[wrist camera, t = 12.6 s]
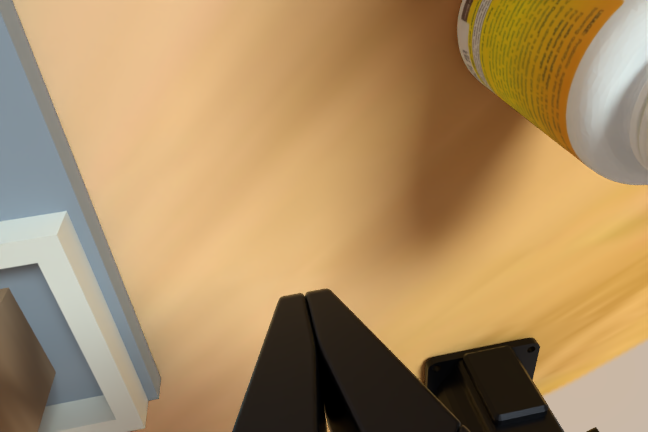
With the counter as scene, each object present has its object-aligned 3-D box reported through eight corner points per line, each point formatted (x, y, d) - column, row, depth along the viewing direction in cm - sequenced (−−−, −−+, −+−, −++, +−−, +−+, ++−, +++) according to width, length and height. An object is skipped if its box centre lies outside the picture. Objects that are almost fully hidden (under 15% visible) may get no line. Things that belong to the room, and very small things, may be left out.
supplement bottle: (480, 112, 21) (657, 274, 13) (428, -14, 18) (616, 90, 10) (609, 36, 20) (889, 155, 12) (578, -110, 17) (926, -87, 9)
